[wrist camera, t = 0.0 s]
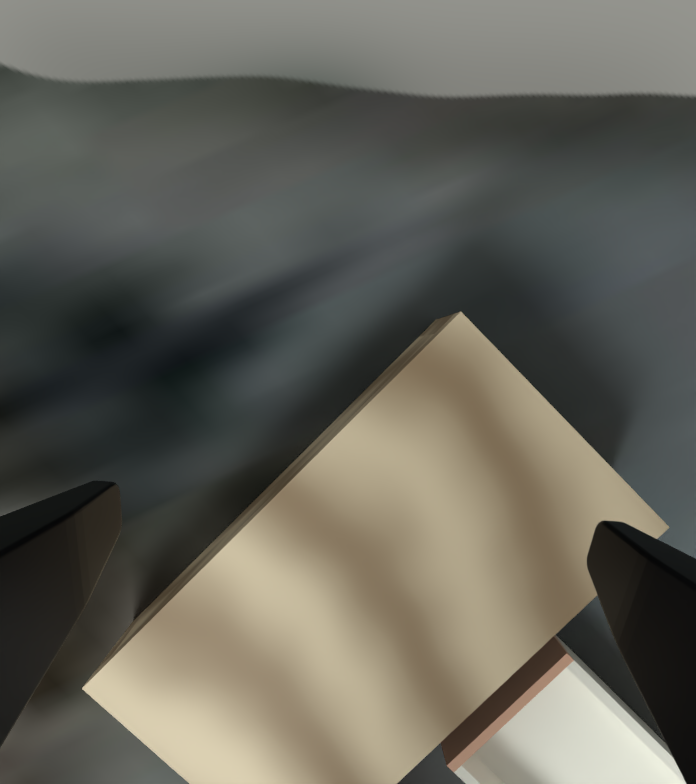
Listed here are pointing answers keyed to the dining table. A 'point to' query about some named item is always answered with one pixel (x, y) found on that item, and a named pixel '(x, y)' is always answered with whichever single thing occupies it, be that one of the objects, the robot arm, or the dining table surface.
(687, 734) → the robot arm
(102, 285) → the dining table surface
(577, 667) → the shell lid
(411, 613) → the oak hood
